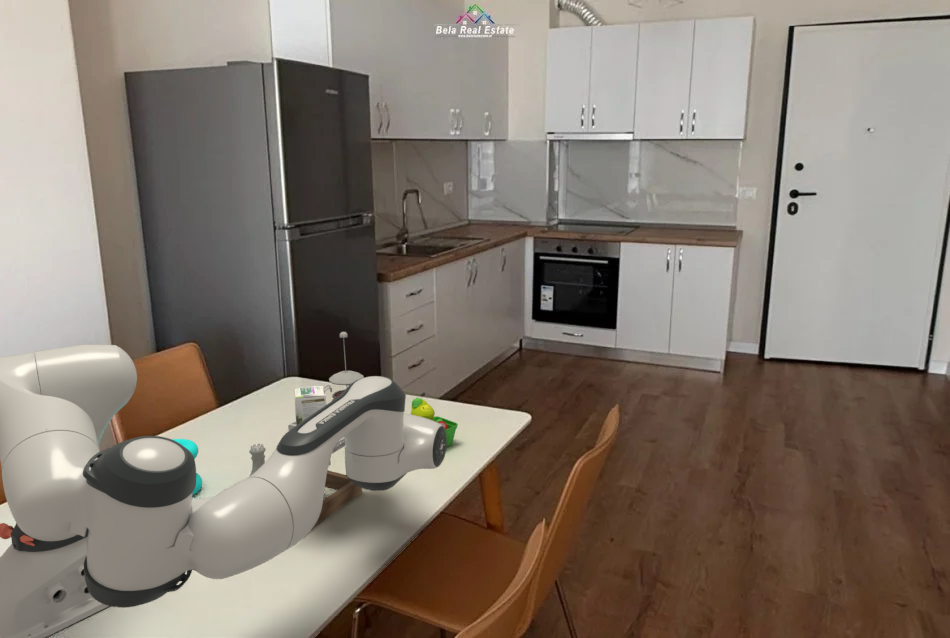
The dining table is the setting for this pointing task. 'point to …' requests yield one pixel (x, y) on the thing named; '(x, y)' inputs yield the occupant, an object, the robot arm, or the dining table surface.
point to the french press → (343, 375)
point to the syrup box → (308, 402)
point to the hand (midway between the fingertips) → (307, 418)
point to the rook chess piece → (257, 457)
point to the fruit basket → (427, 411)
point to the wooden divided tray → (337, 494)
